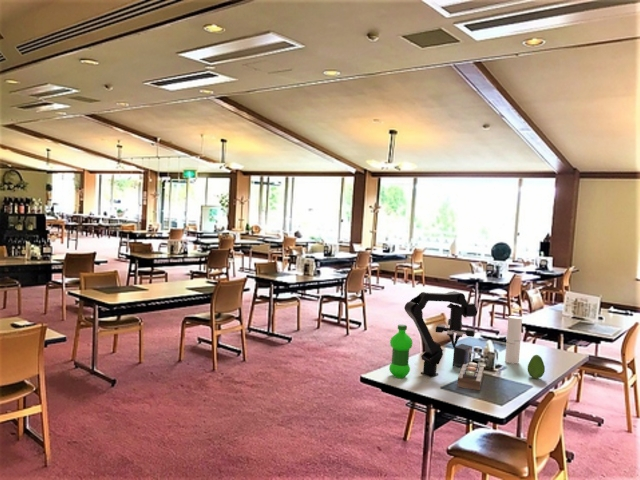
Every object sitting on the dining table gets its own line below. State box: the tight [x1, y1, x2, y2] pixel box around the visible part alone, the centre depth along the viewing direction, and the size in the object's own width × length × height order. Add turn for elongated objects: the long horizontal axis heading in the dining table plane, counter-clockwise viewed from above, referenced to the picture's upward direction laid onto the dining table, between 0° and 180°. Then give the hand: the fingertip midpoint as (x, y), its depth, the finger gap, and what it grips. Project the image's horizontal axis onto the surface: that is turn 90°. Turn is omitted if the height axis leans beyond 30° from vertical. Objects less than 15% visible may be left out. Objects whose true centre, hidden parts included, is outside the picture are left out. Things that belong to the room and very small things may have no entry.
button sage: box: [466, 371, 475, 376], centre depth 244 cm, size 4×4×2 cm
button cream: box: [469, 361, 478, 367], centre depth 259 cm, size 4×4×2 cm
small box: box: [452, 343, 473, 369], centre depth 276 cm, size 11×6×10 cm, turn 143°
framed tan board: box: [456, 363, 485, 391], centre depth 252 cm, size 26×10×6 cm, turn 159°
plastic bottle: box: [389, 324, 413, 379], centre depth 251 cm, size 10×10×25 cm
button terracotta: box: [467, 367, 476, 371], centre depth 252 cm, size 4×4×2 cm
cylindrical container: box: [504, 315, 523, 364], centre depth 289 cm, size 7×7×25 cm
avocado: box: [527, 354, 546, 380], centre depth 261 cm, size 8×8×12 cm
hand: (454, 347), depth 262 cm, fingers closed
